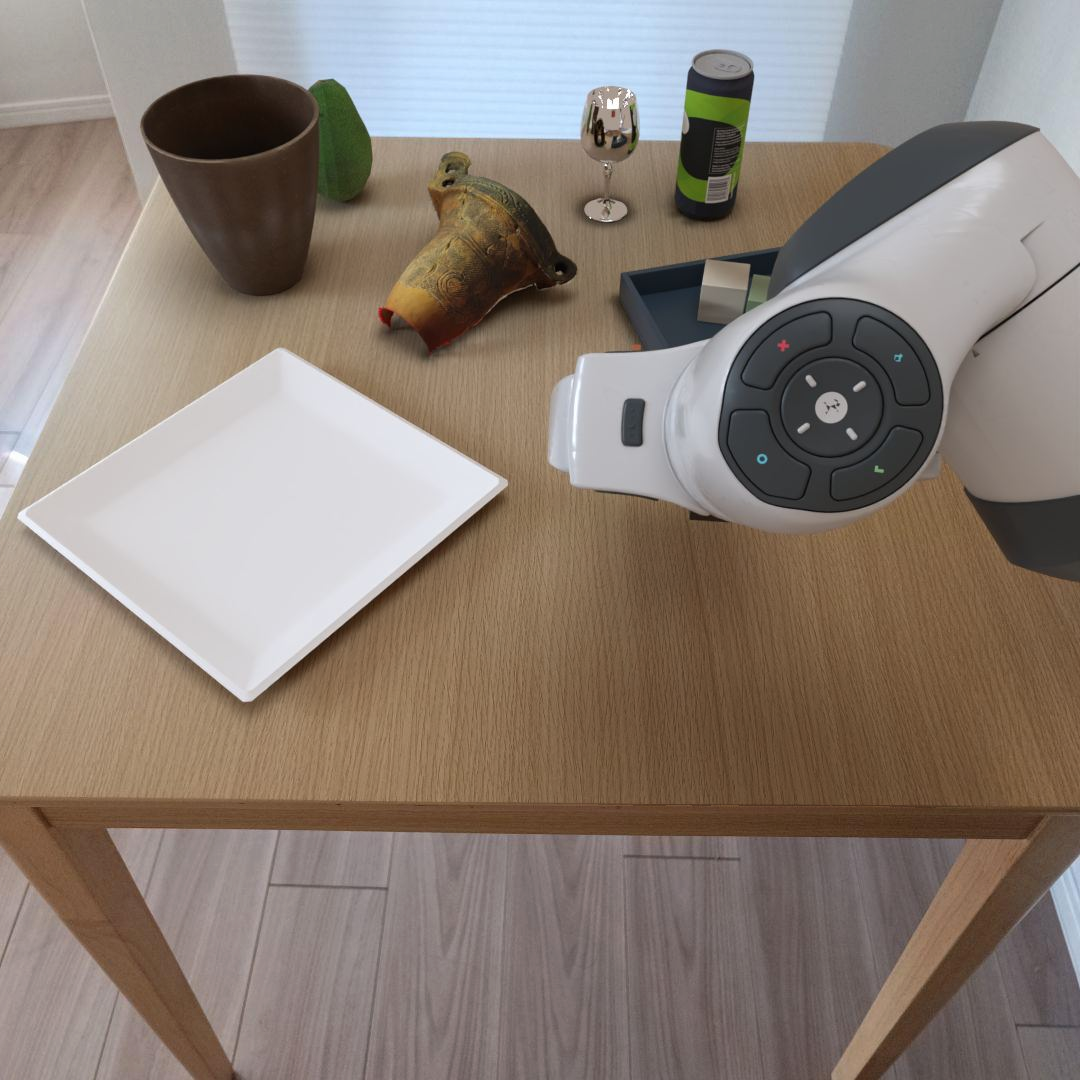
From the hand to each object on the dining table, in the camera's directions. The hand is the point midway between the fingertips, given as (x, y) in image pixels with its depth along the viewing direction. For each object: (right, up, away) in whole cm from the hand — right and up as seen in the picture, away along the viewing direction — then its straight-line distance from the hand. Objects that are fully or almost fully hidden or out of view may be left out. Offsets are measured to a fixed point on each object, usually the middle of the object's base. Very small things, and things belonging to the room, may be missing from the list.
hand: (723, 441), depth 65 cm
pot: (-17, +18, +39) cm, 46 cm away
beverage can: (+6, +29, +49) cm, 57 cm away
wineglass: (-4, +28, +48) cm, 56 cm away
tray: (+8, +13, +35) cm, 38 cm away
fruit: (-32, +30, +50) cm, 66 cm away
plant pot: (-37, +20, +41) cm, 58 cm away
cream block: (+6, +18, +33) cm, 38 cm away
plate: (-31, -4, +20) cm, 37 cm away
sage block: (+10, +16, +32) cm, 37 cm away
